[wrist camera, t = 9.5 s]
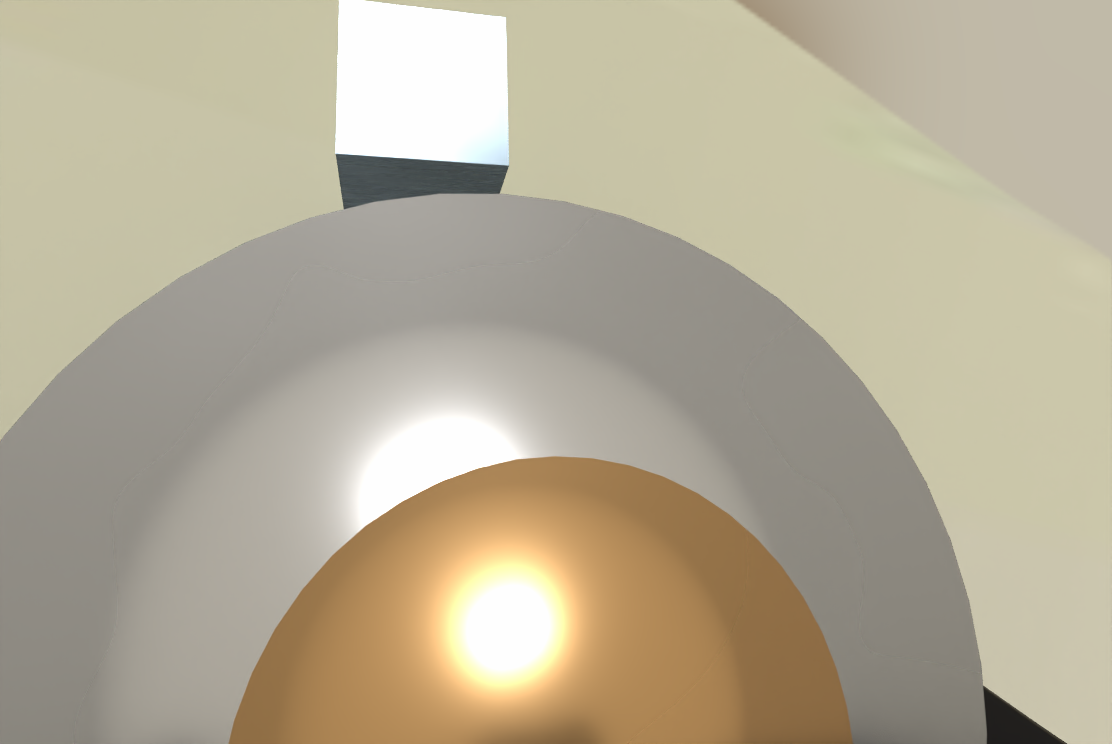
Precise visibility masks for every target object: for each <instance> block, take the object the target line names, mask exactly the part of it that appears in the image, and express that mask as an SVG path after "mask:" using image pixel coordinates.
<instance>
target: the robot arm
mask: <svg viewBox="0 0 1112 744" xmlns="http://www.w3.org/2000/svg"><path fill="white" fill-rule="evenodd" d="M983 691H984V703H985V715H986V727H987V744H1067V743H1065V742H1064V741H1062V740H1061V739H1059V738H1058V737H1056V736H1055V735H1053V734H1052V733H1051V732H1049V731H1048V730H1046V729H1045V728H1043V727H1042V726H1040V725H1039V724H1037V723H1036V722H1034V721H1033V720H1032V719H1030V718H1029V717H1027V716H1026V715H1024V714H1023V713H1022V712H1020V711H1019V710H1017V709H1016V708H1014V707H1013V706H1012V705H1010V704H1009V703H1007V702H1006V701H1004V700H1003V699H1002V698H1000V697H999V696H997V695H996V694H994V693H993V692H992V691H990V690H989V689H987V688H986V687H984V686H983Z"/></svg>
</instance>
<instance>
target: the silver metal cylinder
mask: <svg viewBox="0 0 1112 744" xmlns="http://www.w3.org/2000/svg"><path fill="white" fill-rule="evenodd" d="M0 744H987V727H986V715H985V703H984V691H983V680H982V668H981V661H980V656H979V650H978V645H977V640H976V635H975V629H974V624H973V619H972V614H971V609H970V603H969V599H968V596H967V592H966V589H965V586H964V583H963V579H962V576H961V573H960V569H959V566H958V563H957V560H956V556H955V553H954V550H953V546H952V543H951V540H950V537H949V535H948V533H947V530H946V528H945V526H944V523H943V521H942V519H941V516H940V514H939V512H938V509H937V507H936V504H935V502H934V500H933V497H932V495H931V493H930V490H929V488H928V486H927V483H926V481H925V480H924V478H923V476H922V474H921V472H920V471H919V469H918V467H917V465H916V464H915V462H914V460H913V458H912V456H911V455H910V453H909V451H908V449H907V447H906V446H905V444H904V442H903V440H902V439H901V437H900V435H899V433H898V431H897V430H896V428H895V427H894V425H893V424H892V423H891V421H890V420H889V418H888V417H887V416H886V414H885V413H884V411H883V410H882V409H881V407H880V406H879V404H878V403H877V402H876V400H875V399H874V397H873V396H872V395H871V393H870V392H869V390H868V389H867V388H866V386H865V385H864V383H863V382H862V381H861V380H860V379H859V377H858V376H857V375H856V374H855V373H854V372H853V371H852V370H851V369H850V367H849V366H848V365H847V364H846V363H845V362H844V361H843V360H842V359H841V357H840V356H839V355H838V354H837V353H836V352H835V351H834V350H833V349H832V347H831V346H830V345H829V344H828V343H827V342H826V341H825V340H824V339H823V337H821V336H820V335H819V334H818V333H817V332H816V331H815V330H814V329H812V328H811V327H810V326H809V325H808V324H807V323H806V322H804V321H803V320H802V319H801V318H800V317H799V316H798V315H797V314H795V313H794V312H793V311H792V310H791V309H790V308H789V307H787V306H786V305H785V304H784V303H783V302H782V301H781V300H779V299H778V298H777V297H776V296H774V295H773V294H771V293H770V292H768V291H767V290H765V289H764V288H763V287H761V286H760V285H758V284H757V283H755V282H754V281H752V280H751V279H750V278H748V277H747V276H745V275H744V274H742V273H741V272H739V271H738V270H737V269H735V268H734V267H732V266H731V265H729V264H727V263H725V262H723V261H722V260H720V259H718V258H716V257H714V256H712V255H710V254H708V253H706V252H705V251H703V250H701V249H699V248H697V247H695V246H693V245H691V244H690V243H688V242H686V241H684V240H682V239H680V238H678V237H676V236H673V235H670V234H668V233H665V232H663V231H660V230H657V229H655V228H652V227H650V226H647V225H644V224H642V223H639V222H637V221H634V220H631V219H629V218H626V217H624V216H620V215H616V214H612V213H608V212H604V211H600V210H596V209H592V208H588V207H584V206H580V205H576V204H572V203H568V202H564V201H557V200H549V199H541V198H533V197H525V196H517V195H508V194H434V195H426V196H417V197H409V198H401V199H393V200H384V201H376V202H372V203H368V204H364V205H360V206H356V207H352V208H348V209H344V210H340V211H336V212H332V213H327V214H323V215H319V216H315V217H311V218H308V219H306V220H303V221H300V222H298V223H295V224H293V225H290V226H287V227H285V228H282V229H279V230H277V231H274V232H272V233H269V234H266V235H264V236H261V237H259V238H256V239H253V240H251V241H248V242H246V243H243V244H241V245H240V246H238V247H236V248H234V249H232V250H230V251H228V252H226V253H224V254H223V255H221V256H219V257H217V258H215V259H213V260H211V261H209V262H207V263H206V264H204V265H202V266H200V267H198V268H196V269H194V270H192V271H191V272H189V273H187V274H185V275H183V276H181V277H179V278H178V279H176V280H175V281H174V282H172V283H171V284H169V285H168V286H166V287H165V288H164V289H162V290H161V291H159V292H158V293H156V294H155V295H154V296H152V297H151V298H149V299H148V300H146V301H145V302H143V303H142V304H141V305H139V306H138V307H136V308H135V309H133V310H132V311H131V312H129V313H128V314H126V315H125V316H123V317H122V318H121V319H119V320H118V321H116V322H115V323H114V324H113V325H112V326H111V327H110V328H109V329H108V330H106V331H105V332H104V333H103V334H102V335H101V336H100V337H99V338H98V339H96V340H95V341H94V342H93V343H92V344H91V345H90V346H89V347H87V348H86V349H85V350H84V351H83V352H82V353H81V354H80V355H79V356H77V357H76V358H75V359H74V360H73V361H72V362H71V363H70V364H69V365H67V366H66V367H65V368H64V369H63V370H62V371H61V372H60V373H59V374H58V375H57V376H56V377H55V378H54V379H53V380H52V381H51V383H50V384H49V385H48V386H47V387H46V388H45V389H44V391H43V392H42V393H41V394H40V395H39V396H38V398H37V399H36V400H35V401H34V402H33V403H32V404H31V406H30V407H29V408H28V409H27V410H26V411H25V412H24V414H23V415H22V416H21V417H20V418H19V419H18V420H17V422H16V423H15V424H14V425H13V426H12V427H11V429H10V430H9V431H8V432H7V433H6V434H5V435H4V437H3V438H2V440H1V441H0Z"/></svg>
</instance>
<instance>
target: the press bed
mask: <svg viewBox="0 0 1112 744" xmlns="http://www.w3.org/2000/svg"><path fill="white" fill-rule="evenodd" d="M336 158H337V165H338V172H339V179H340V186H341V193H342V199H343V206H344V209H348V208H352V207H356V206H360V205H364V204H368V203H372V202H376V201H384V200H393V199H401V198H409V197H417V196H426V195H434V194H500V191H501V188H502V185H503V182H504V179H505V176H506V173H507V170H508V167H509V148H508V103H507V58H506V18H505V17H496V16H487V15H478V14H470V13H461V12H452V11H444V10H435V9H426V8H417V7H409V6H400V5H391V4H383V3H374V2H365V1H356V0H340V11H339V49H338V87H337V125H336Z"/></svg>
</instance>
